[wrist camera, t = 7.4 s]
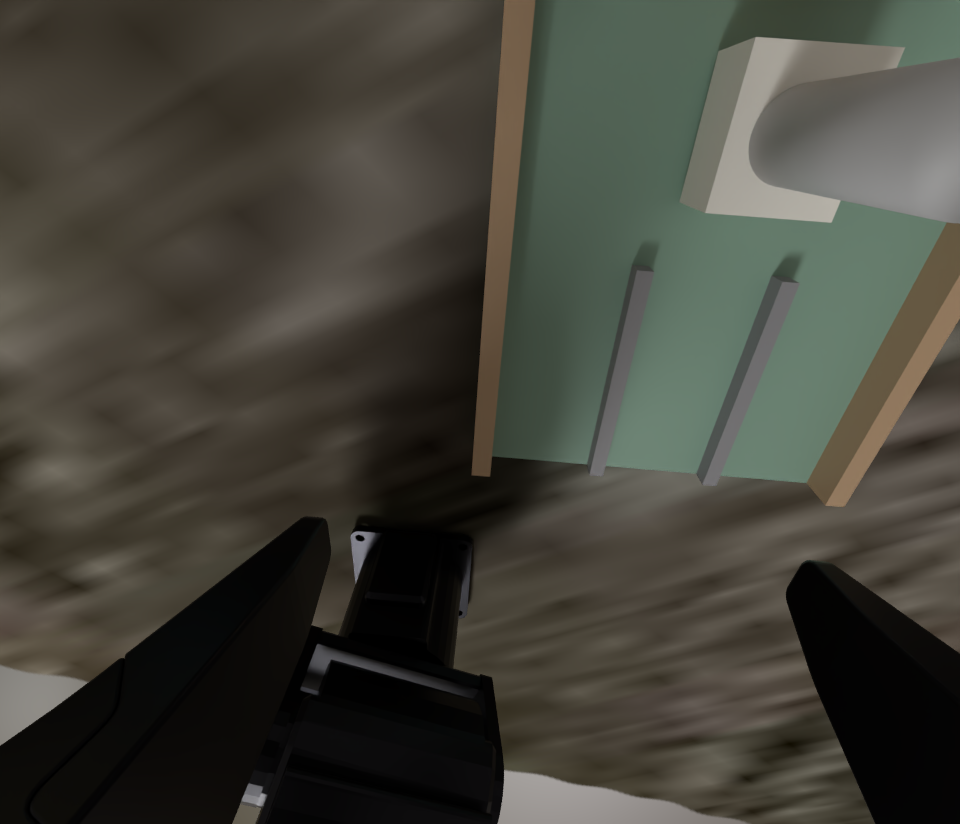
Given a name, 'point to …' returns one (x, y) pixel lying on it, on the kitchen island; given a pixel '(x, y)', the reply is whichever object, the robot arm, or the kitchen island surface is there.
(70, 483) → the kitchen island surface
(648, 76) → the pitch
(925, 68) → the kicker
